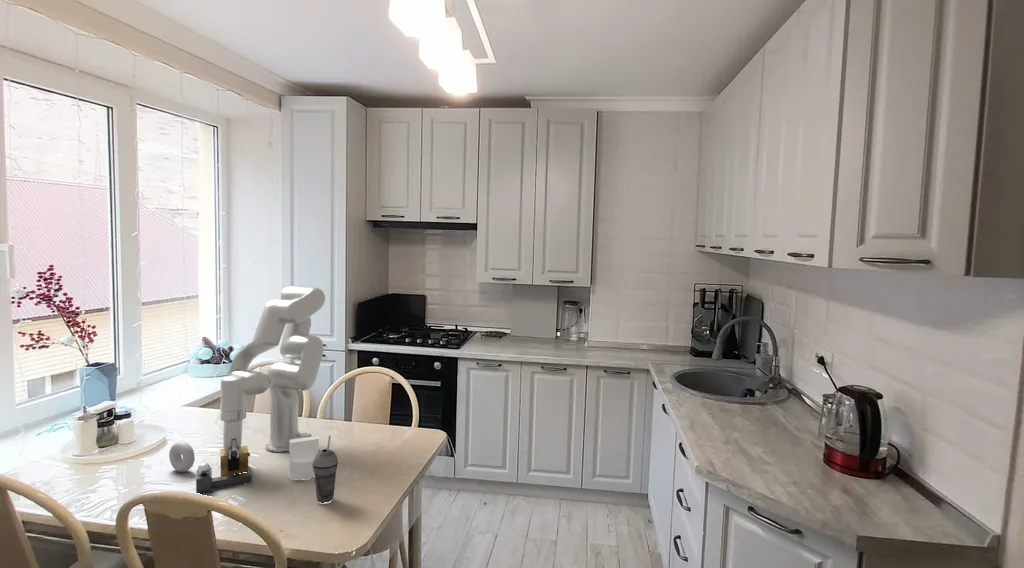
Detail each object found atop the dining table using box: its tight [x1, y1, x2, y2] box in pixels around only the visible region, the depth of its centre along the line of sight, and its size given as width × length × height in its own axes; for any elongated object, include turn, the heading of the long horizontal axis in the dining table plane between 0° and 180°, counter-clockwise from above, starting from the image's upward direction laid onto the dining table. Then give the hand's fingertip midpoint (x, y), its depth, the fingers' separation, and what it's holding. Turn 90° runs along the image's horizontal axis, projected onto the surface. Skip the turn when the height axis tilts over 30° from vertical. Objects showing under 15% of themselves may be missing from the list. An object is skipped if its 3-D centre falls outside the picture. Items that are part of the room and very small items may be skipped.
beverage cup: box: [312, 434, 339, 503], centre depth 157 cm, size 7×7×20 cm
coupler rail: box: [195, 462, 253, 495], centre depth 165 cm, size 15×7×8 cm, turn 119°
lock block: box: [219, 445, 251, 477], centre depth 175 cm, size 9×6×7 cm
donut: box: [168, 440, 196, 473], centre depth 174 cm, size 10×4×10 cm, turn 66°
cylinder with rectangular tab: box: [288, 435, 320, 481], centre depth 174 cm, size 9×9×12 cm
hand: (233, 464), depth 175 cm, fingers open, 9 cm apart
